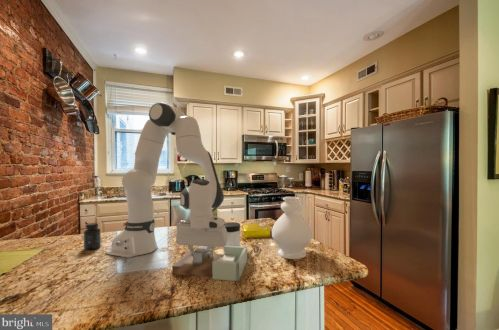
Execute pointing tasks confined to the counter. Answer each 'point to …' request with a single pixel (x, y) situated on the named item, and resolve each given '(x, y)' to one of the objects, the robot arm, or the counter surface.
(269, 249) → the counter surface
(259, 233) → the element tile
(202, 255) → the grey block
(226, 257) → the tile far
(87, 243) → the supplement bottle
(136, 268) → the counter surface
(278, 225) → the decorative vase
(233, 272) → the box
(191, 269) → the board
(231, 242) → the jar
